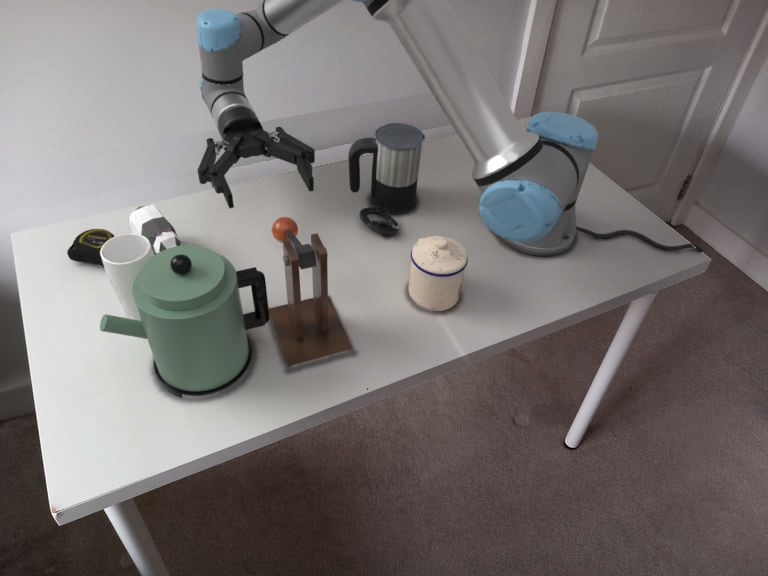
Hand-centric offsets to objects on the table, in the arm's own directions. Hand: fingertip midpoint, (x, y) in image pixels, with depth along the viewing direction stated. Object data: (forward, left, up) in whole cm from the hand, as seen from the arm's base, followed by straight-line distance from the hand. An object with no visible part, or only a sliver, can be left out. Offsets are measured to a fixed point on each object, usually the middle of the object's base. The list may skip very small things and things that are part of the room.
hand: (272, 193), depth 97 cm
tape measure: (+30, +5, -13) cm, 33 cm away
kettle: (+6, +25, -13) cm, 29 cm away
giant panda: (+19, +4, -13) cm, 23 cm away
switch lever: (-6, +14, -1) cm, 15 cm away
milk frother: (-19, -14, -13) cm, 27 cm away
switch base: (-8, +18, -13) cm, 24 cm away
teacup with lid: (-27, +6, -13) cm, 31 cm away
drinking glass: (+17, +18, -13) cm, 28 cm away
